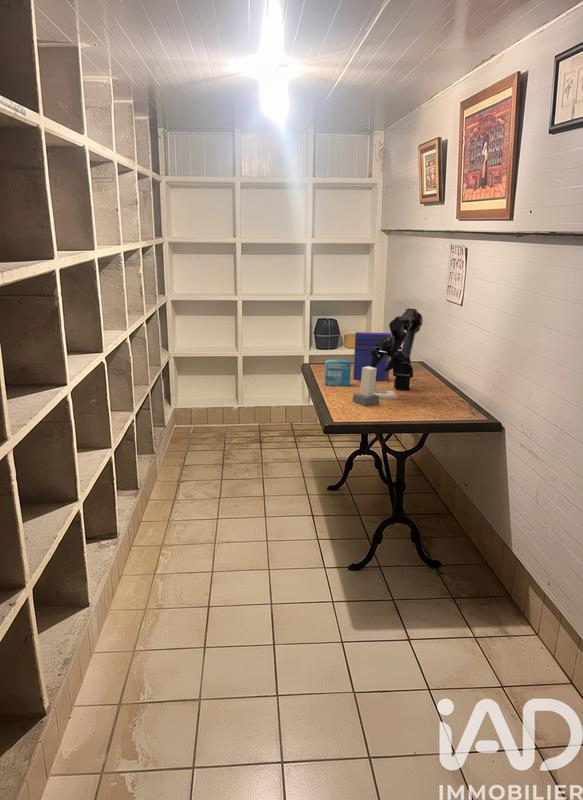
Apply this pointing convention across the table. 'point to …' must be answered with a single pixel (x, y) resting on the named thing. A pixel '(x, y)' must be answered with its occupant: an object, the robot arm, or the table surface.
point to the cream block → (368, 381)
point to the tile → (385, 394)
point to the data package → (337, 372)
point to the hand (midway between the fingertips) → (378, 370)
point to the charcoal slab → (365, 399)
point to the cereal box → (369, 355)
